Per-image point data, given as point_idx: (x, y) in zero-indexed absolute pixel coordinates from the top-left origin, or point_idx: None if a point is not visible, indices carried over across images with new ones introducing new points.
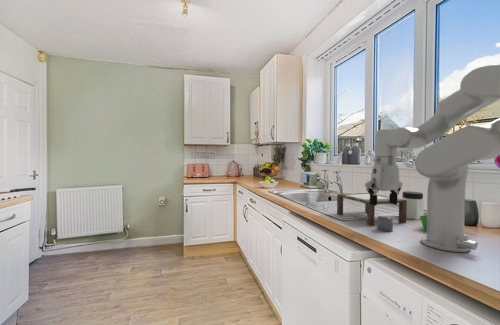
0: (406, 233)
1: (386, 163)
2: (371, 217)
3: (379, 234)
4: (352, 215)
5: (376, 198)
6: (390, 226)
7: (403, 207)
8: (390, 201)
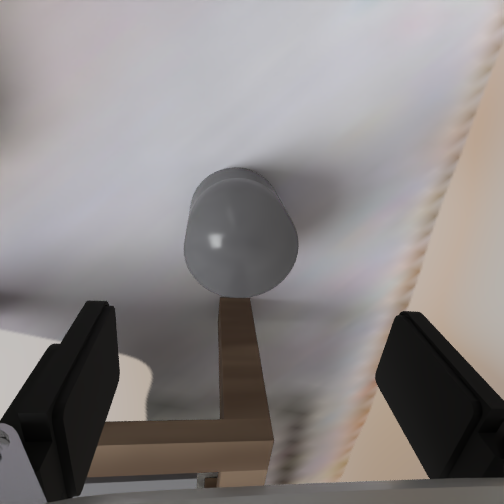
0: (156, 97)
1: None
2: (247, 334)
3: (355, 154)
4: None
5: (469, 369)
6: (243, 177)
7: None
8: (114, 379)
